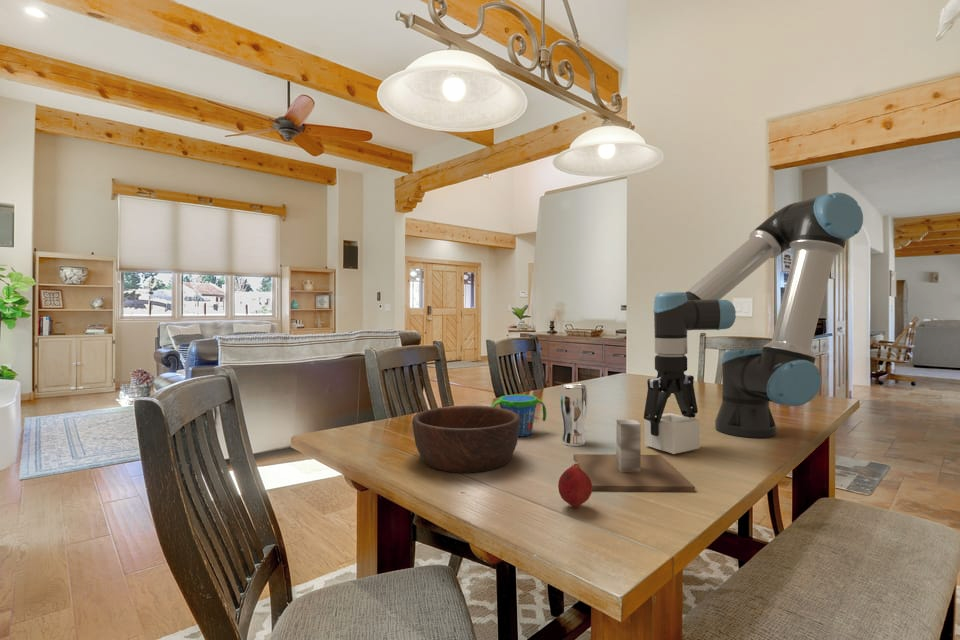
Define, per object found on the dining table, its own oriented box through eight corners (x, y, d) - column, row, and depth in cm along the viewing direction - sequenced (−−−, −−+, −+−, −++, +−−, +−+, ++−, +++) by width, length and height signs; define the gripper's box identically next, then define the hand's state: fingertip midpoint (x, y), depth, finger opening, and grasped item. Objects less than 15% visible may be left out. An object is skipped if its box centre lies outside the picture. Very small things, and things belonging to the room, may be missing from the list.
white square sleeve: (669, 439, 127) (669, 412, 127) (699, 448, 119) (699, 419, 119) (644, 444, 123) (644, 417, 123) (673, 454, 115) (673, 424, 115)
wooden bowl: (468, 487, 96) (467, 435, 96) (390, 461, 113) (389, 416, 113) (541, 458, 115) (541, 414, 115) (465, 439, 132) (465, 401, 131)
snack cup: (490, 439, 131) (490, 401, 131) (490, 429, 142) (490, 394, 142) (548, 438, 131) (548, 401, 131) (544, 429, 142) (544, 394, 141)
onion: (570, 516, 82) (570, 469, 82) (552, 504, 88) (552, 460, 88) (598, 510, 85) (598, 465, 85) (579, 499, 90) (579, 456, 90)
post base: (660, 459, 113) (660, 411, 113) (694, 491, 93) (695, 434, 93) (573, 458, 114) (573, 411, 114) (589, 490, 94) (589, 433, 94)
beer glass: (585, 439, 130) (585, 383, 130) (589, 447, 123) (589, 387, 123) (559, 439, 131) (559, 383, 130) (561, 446, 124) (561, 387, 123)
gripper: (688, 351, 129) (688, 435, 129) (626, 356, 119) (627, 448, 119) (713, 353, 122) (714, 442, 123) (650, 359, 112) (651, 456, 113)
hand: (671, 445), depth 121 cm, fingers closed on white square sleeve, 9 cm apart
